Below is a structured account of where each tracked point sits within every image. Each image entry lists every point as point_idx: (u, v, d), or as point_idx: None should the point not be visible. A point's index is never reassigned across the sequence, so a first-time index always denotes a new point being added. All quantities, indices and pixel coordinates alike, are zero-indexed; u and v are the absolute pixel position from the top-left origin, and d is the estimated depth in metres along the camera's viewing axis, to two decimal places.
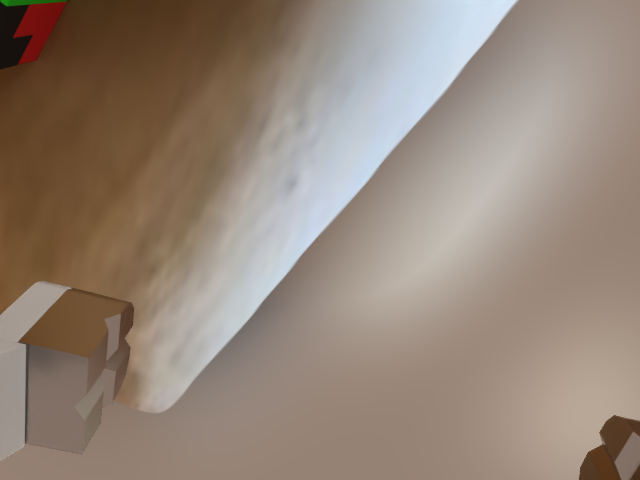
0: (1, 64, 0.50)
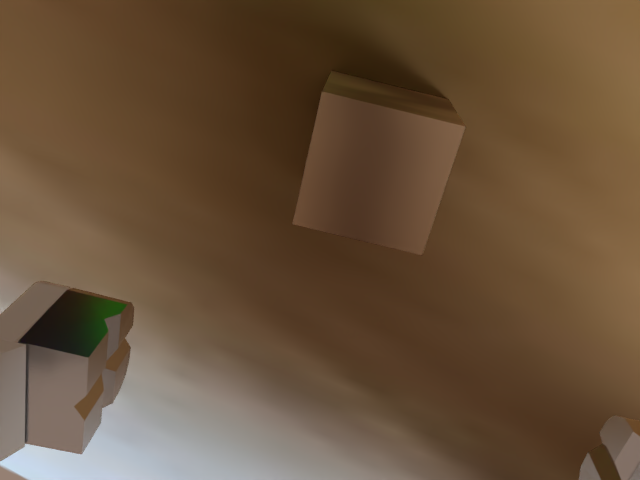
0: None
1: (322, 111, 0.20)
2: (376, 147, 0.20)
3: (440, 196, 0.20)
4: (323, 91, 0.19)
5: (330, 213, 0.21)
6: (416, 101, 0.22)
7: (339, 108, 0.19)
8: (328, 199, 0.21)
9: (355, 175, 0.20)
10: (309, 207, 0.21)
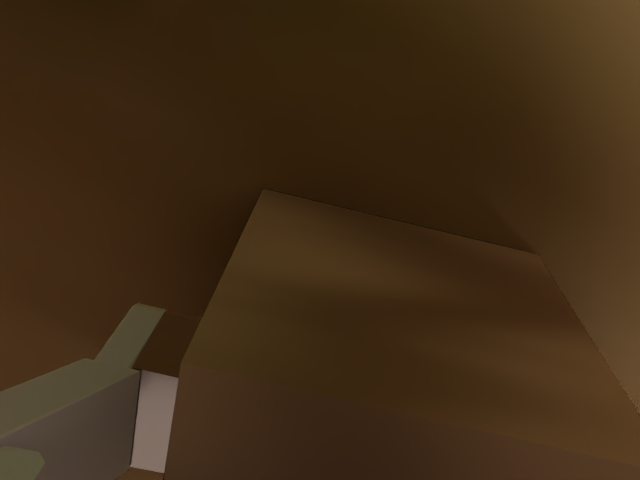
0: None
1: (190, 417, 0.06)
2: None
3: None
4: (188, 358, 0.06)
5: None
6: (479, 305, 0.08)
7: (244, 410, 0.06)
8: None
9: None
10: None
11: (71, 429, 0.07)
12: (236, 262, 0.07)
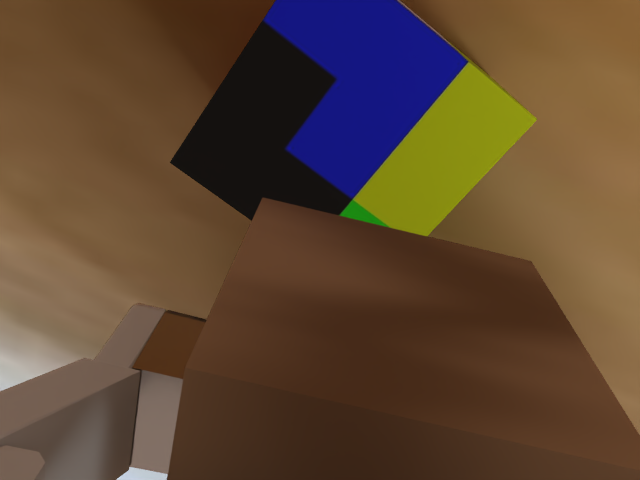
0: None
1: (193, 421, 0.06)
2: None
3: None
4: (192, 364, 0.06)
5: None
6: (474, 312, 0.08)
7: (246, 414, 0.06)
8: None
9: None
10: None
11: (71, 429, 0.07)
12: (237, 270, 0.08)
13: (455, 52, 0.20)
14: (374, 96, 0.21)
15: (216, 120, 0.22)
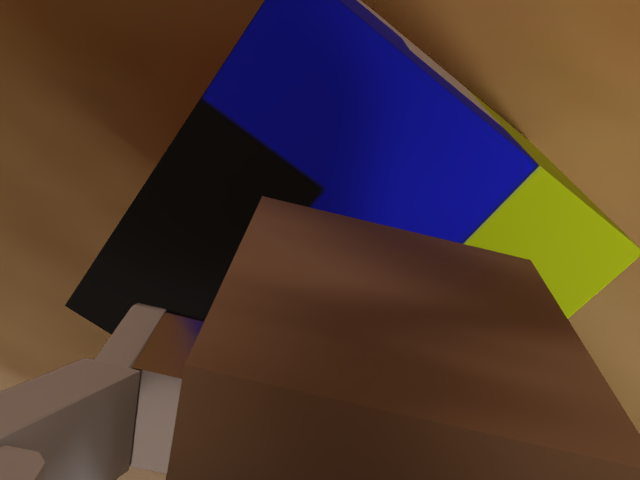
0: None
1: (193, 418, 0.06)
2: None
3: None
4: (191, 361, 0.06)
5: None
6: (473, 310, 0.08)
7: (245, 411, 0.06)
8: None
9: None
10: None
11: (71, 429, 0.07)
12: (236, 268, 0.08)
13: (518, 151, 0.12)
14: (384, 215, 0.13)
15: (133, 247, 0.14)
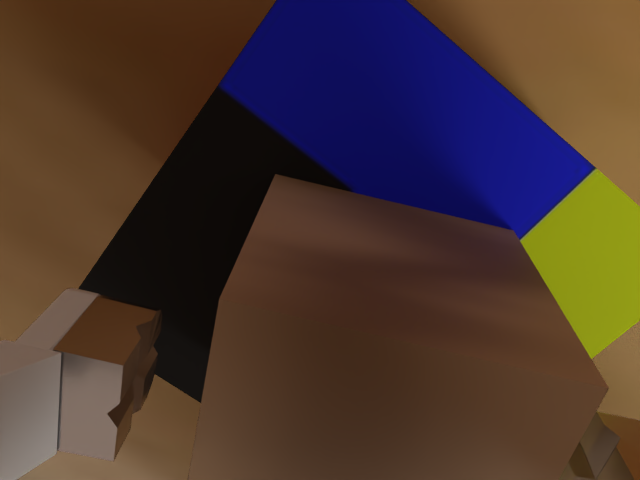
0: None
1: (226, 344, 0.07)
2: (368, 425, 0.08)
3: None
4: (224, 296, 0.07)
5: None
6: (459, 267, 0.10)
7: (268, 339, 0.07)
8: None
9: None
10: None
11: None
12: (256, 230, 0.09)
13: (573, 152, 0.11)
14: None
15: (137, 252, 0.13)
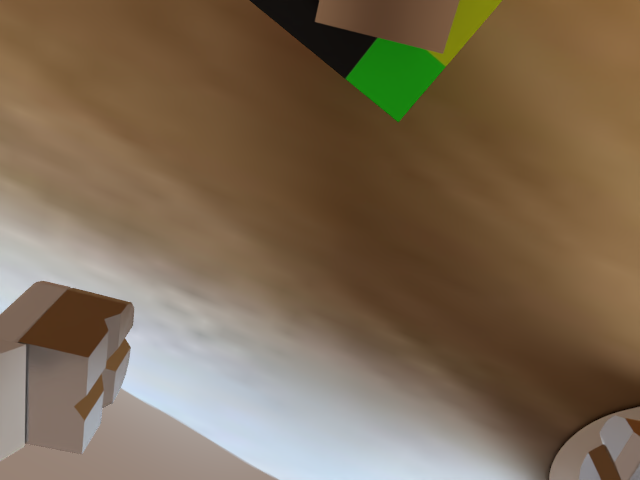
0: None
1: None
2: None
3: None
4: None
5: (353, 9, 0.21)
6: None
7: None
8: None
9: None
10: (332, 1, 0.21)
11: None
12: None
13: None
14: None
15: None
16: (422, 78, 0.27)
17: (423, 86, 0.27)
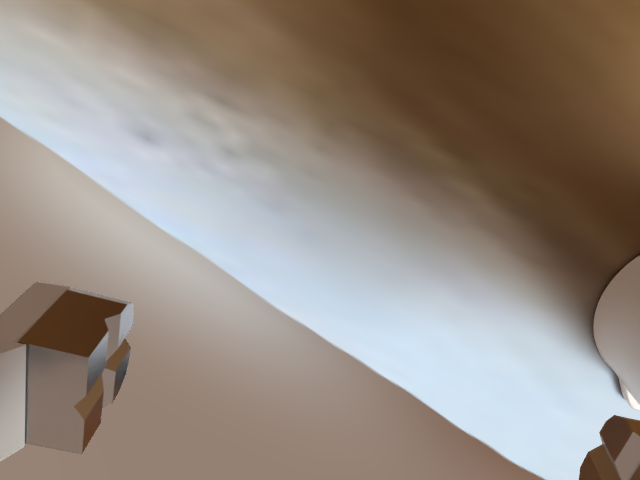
0: None
1: None
2: None
3: None
4: None
5: None
6: None
7: None
8: None
9: None
10: None
11: None
12: None
13: None
14: None
15: None
16: None
17: None
